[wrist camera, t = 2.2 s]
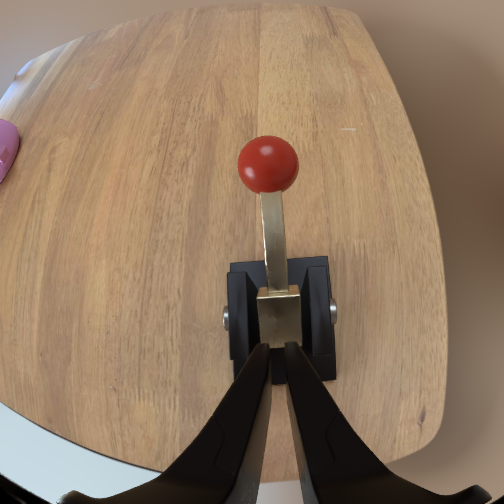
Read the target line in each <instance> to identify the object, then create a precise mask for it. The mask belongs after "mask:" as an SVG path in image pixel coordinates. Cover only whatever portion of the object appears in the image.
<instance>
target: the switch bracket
mask: <svg viewBox="0 0 504 504" xmlns="http://www.w3.org/2000/svg"><path fill="white" fill-rule="evenodd" d="M287 267H288V282H289V285H298V287H299V291H300V295H301V311H302V337H303V346H300V347H301V349H302V351H303V352H304V354H305V355H306V357H307V359H308V360H309V362H310V363H311V365H312V367H313V368H314V370H315V371H316V373H317V375H318V376H319V378H320V379H321V381H330V380H336V379H337V378H336V352H335V334H334V324H336V322H337V307H336V302H335V299H332V294H331V284H330V274H329V264H328V256H318V257H305V258H292V259H287ZM260 287H267V276H266V263H265V261H251V262H237V263H230V272H228V273H227V297H228V306H225V307H224V310H223V323H224V328H225V330H226V331H229V357H230V360H233V373H234V380H235V379H236V377H237V375H238V374H239V372H240V371H241V369H242V367H243V366H244V364H245V363H246V361H247V359H248V358H249V356H250V354H251V353H252V351H253V349H254V348H255V346H256V345H257V344H258V343H260V339H259V327H258V315H257V303H256V297H257V294H258V291H259V288H260ZM270 354H271V378H272V385H279V384H286V373H285V347H283V348H270Z"/></svg>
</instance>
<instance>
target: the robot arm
mask: <svg viewBox="0 0 504 504" xmlns="http://www.w3.org/2000/svg"><path fill="white" fill-rule="evenodd" d="M285 373H286V392H287V404H288V410H289V416H290V422H291V428H292V434H293V440H294V446H295V452H296V459H297V465H298V471H299V477H300V483H301V490H302V495H303V502H304V504H485V503H487V502H488V501H490V500H491V499H492V497H491V496H490V494H489V493H488V492H487V491H486V490H484V489H483V488H482V487H480V486H479V485H473V486H471V487H469V488H467V489H464V490H462V491H460V492H458V493H456V494H453V495H439V494H436V493H433V492H431V491H428V490H426V489H424V488H422V487H420V486H418V485H415V484H413V483H411V482H409V481H407V480H405V479H403V478H401V477H399V476H397V475H396V474H394V473H393V472H391V471H390V470H389V469H388V468H387V467H386V466H385V465H384V464H383V463H382V462H381V461H380V460H379V459H378V458H377V457H376V455H375V454H374V453H373V452H372V451H371V450H370V449H369V448H368V447H367V445H366V444H365V443H364V442H363V441H362V440H361V438H360V437H359V436H358V435H357V434H356V432H355V431H354V430H353V428H352V427H351V426H350V424H349V423H348V421H347V420H346V418H345V417H344V415H343V414H342V412H341V411H340V409H339V408H338V406H337V404H336V403H335V401H334V400H333V398H332V397H331V395H330V393H329V392H328V390H327V389H326V387H325V386H324V384H323V382H322V381H321V379H320V378H319V376H318V375H317V373H316V371H315V370H314V368H313V367H312V365H311V363H310V362H309V360H308V359H307V357H306V355H305V354H304V352H303V351H302V349H301V347H300V346H299V344H298V343H297V342H296V341H290V342H285ZM271 401H272V378H271V354H270V345H269V343H258V344H257V345H256V346H255V348H254V349H253V351H252V353H251V354H250V356H249V358H248V359H247V361H246V363H245V364H244V366H243V367H242V369H241V371H240V372H239V374H238V375H237V377H236V379H235V380H234V382H233V383H232V385H231V386H230V388H229V390H228V391H227V393H226V394H225V396H224V397H223V399H222V401H221V402H220V404H219V405H218V407H217V408H216V410H215V411H214V413H213V414H212V415H213V416H211V417H210V419H209V420H208V422H207V423H206V425H205V426H204V427H203V429H202V430H201V431H200V433H199V434H198V436H197V437H196V438H195V439H194V440H193V441H192V443H191V444H190V445H189V446H188V447H187V448H186V449H185V450H184V451H183V453H182V454H181V455H180V456H179V457H178V458H177V459H176V460H175V461H174V462H173V463H172V464H171V465H170V466H169V467H168V468H167V469H166V470H165V471H164V472H163V473H162V474H161V475H159V476H158V477H157V478H155V479H153V480H151V481H149V482H147V483H144V484H142V485H140V486H137V487H135V488H132V489H130V490H127V491H125V492H122V493H119V494H117V495H114V496H111V497H107V498H92V497H89V496H87V495H84V494H82V493H80V492H78V491H74V490H73V491H71V492H69V493H67V494H65V495H63V496H62V497H60V498H59V499H58V501H57V504H256V500H257V495H258V489H259V483H260V477H261V471H262V465H263V458H264V452H265V445H266V439H267V432H268V425H269V417H270V410H271ZM0 504H51V503H50V502H48V501H46V500H44V499H42V498H41V497H39V496H37V495H35V494H34V493H32V492H30V491H28V490H27V489H25V488H23V487H22V486H20V485H18V484H17V483H15V482H14V481H12V480H10V479H9V478H7V477H6V476H4V475H3V474H1V473H0ZM490 504H504V495H503V496H502V497H500V498H498V499H497V500H495V501H493V502H492V503H490Z"/></svg>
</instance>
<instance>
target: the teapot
mask: <svg viewBox="0 0 504 504" xmlns="http://www.w3.org/2000/svg"><path fill="white" fill-rule="evenodd" d="M18 147H19V134H18V129H17V127H16V126H15V125H13V124H12V123H10V122H8V121H6V120H2V119H0V183H1V181H2V180H3V179H4V177H5V176H6V174H7V172H8V171H9V169H10V167H11V165H12V163H13V161H14V159H15V156H16V154H17V151H18Z"/></svg>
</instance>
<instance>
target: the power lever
mask: <svg viewBox="0 0 504 504" xmlns="http://www.w3.org/2000/svg"><path fill="white" fill-rule="evenodd" d="M298 171H299V161H298V157H297V154H296V152H295V150H294V149H293V147H292V146H291V145H290V144H289V143H288V142H286V141H285V140H283V139H281V138H279V137H275V136H261V137H257V138H255V139H253V140H251V141H250V142H248V143H247V144H246V145H245V146H244V148H243V149H242V151H241V153H240V155H239V158H238V173H239V176H240V178H241V180H242V182H243V183H244V184H245V186H246V187H248V188H249V189H250V190H251V191H253V192H255V193H258V194H260V203H261V214H262V226H263V238H264V251H265V263H266V276H267V287H260V288H259V291H258V294H257V297H256V303H257V315H258V327H259V339H260V343H269V345H270V348H283V347H285V342H290V341H296V342H297V343H298V344H299V346H303V337H302V311H301V295H300V291H299V287H298V285H289V282H288V267H287V252H286V239H285V227H284V214H283V203H282V192H284V191H286V190H287V189H288V188H289V187H290V186H291V185H292V184H293V183H294V181H295V179H296V177H297V175H298Z"/></svg>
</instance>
